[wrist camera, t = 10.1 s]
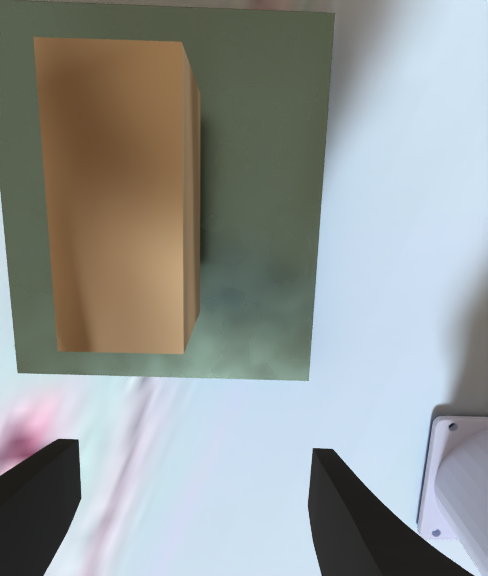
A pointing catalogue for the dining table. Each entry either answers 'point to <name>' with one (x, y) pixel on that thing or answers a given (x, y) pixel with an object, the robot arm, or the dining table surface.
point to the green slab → (213, 183)
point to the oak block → (121, 192)
